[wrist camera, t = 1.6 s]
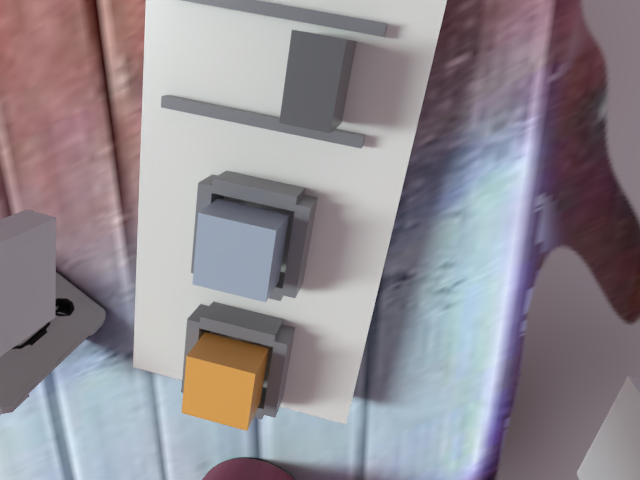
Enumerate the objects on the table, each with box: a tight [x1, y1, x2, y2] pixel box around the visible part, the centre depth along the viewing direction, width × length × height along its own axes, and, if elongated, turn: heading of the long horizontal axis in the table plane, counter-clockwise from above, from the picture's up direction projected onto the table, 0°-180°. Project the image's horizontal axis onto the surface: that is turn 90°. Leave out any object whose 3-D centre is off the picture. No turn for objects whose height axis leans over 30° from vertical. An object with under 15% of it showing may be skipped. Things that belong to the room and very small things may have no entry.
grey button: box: [192, 199, 289, 302], centre depth 27 cm, size 4×4×3 cm
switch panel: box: [133, 0, 447, 424], centre depth 30 cm, size 26×15×5 cm, turn 170°
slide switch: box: [279, 30, 357, 133], centre depth 24 cm, size 4×2×4 cm, turn 170°
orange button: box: [182, 332, 269, 431], centre depth 30 cm, size 4×4×3 cm
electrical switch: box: [0, 272, 106, 414], centre depth 34 cm, size 9×5×9 cm, turn 51°
